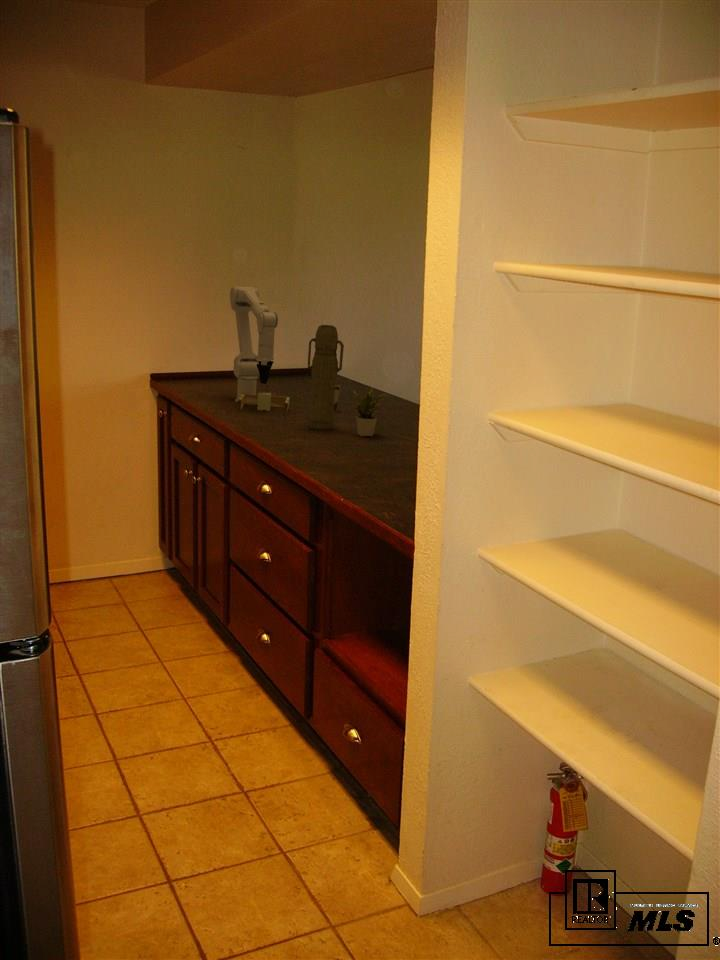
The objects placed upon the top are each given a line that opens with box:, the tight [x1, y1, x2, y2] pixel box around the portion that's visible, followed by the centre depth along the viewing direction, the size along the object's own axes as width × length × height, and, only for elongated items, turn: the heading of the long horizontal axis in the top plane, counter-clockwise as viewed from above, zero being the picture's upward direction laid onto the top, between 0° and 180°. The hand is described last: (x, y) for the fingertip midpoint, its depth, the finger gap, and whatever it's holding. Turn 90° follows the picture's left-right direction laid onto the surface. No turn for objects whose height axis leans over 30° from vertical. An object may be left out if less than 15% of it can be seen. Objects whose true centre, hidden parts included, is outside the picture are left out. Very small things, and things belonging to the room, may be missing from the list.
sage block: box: [256, 392, 272, 412], centre depth 354 cm, size 4×4×6 cm
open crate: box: [237, 394, 291, 415], centre depth 355 cm, size 15×18×4 cm
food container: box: [334, 384, 341, 412], centre depth 359 cm, size 12×6×10 cm, turn 145°
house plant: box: [350, 387, 388, 437], centre depth 320 cm, size 14×14×16 cm
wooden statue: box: [307, 324, 345, 431], centre depth 326 cm, size 9×12×35 cm
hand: (264, 381), depth 352 cm, fingers open, 7 cm apart
